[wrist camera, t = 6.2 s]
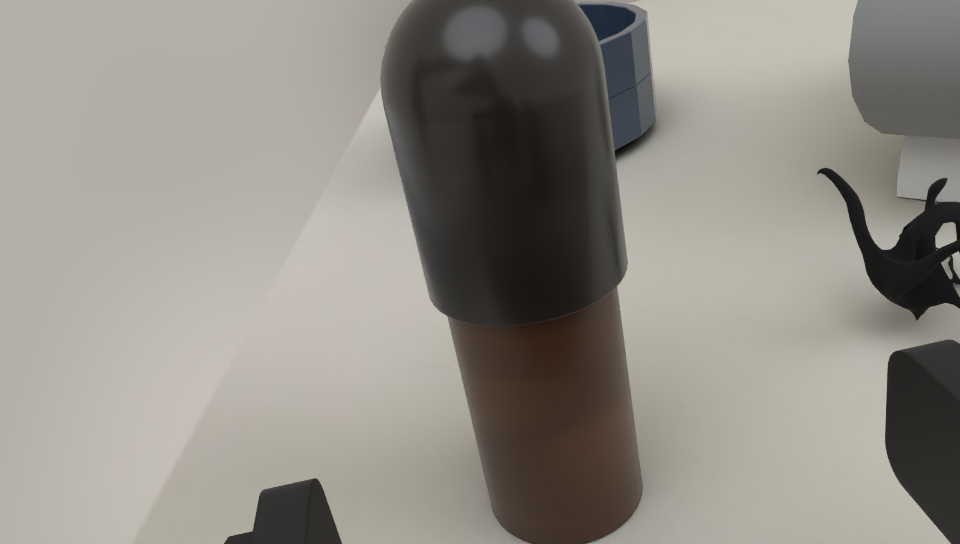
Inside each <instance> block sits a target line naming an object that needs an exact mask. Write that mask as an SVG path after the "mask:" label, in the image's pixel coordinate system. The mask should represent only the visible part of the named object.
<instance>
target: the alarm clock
mask: <svg viewBox="0 0 960 544" xmlns="http://www.w3.org/2000/svg"><path fill="white" fill-rule="evenodd" d="M848 61H849V70H850V79H851V88H852V97H853V99H854V101H855V103H856V105H857V107H858V109H859V111H860V113H861V115H862V117H863V119H864V121H865V122H866V123H868V124H869V125H871V126H872V127H874V128H875V129H877V130H878V131H879V132H881V133H884V134H898V135H905V137H904V141H903V146H902V151H901V156H900V163H899V171H898V179H897V197H905V198H913V199H921V200H926V199H927V193H928V189H929V187H930V186H931V185H932V184H933V183H934V182H935V181H937V180H939V179H941V178H948V180H947V182H946V185H945V186H944V188H943V189H942V190H941V192H940V193H939V195H938V196H937V197H936V200H935V201H938V202H960V0H858V2H857V6H856V9H855V13H854V16H853V25H852V34H851V43H850V51H849V60H848Z"/></svg>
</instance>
